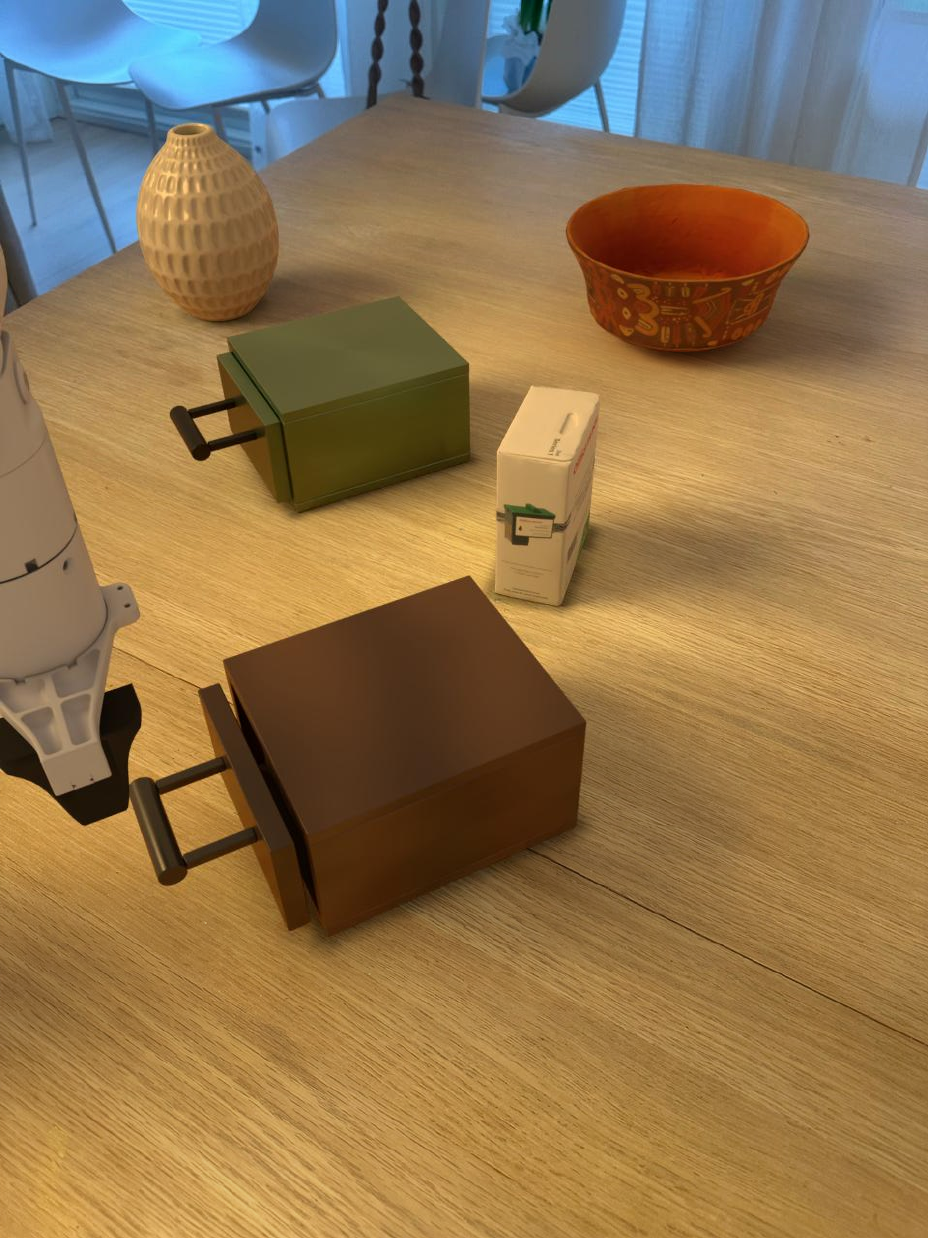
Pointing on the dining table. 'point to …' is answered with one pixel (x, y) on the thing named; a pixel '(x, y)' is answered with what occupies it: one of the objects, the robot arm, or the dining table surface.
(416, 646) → the brown drawer cabinet
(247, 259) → the vase
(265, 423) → the drawer
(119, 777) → the robot arm
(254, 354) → the green drawer cabinet
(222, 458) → the dining table surface
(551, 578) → the ink box
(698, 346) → the bowl
